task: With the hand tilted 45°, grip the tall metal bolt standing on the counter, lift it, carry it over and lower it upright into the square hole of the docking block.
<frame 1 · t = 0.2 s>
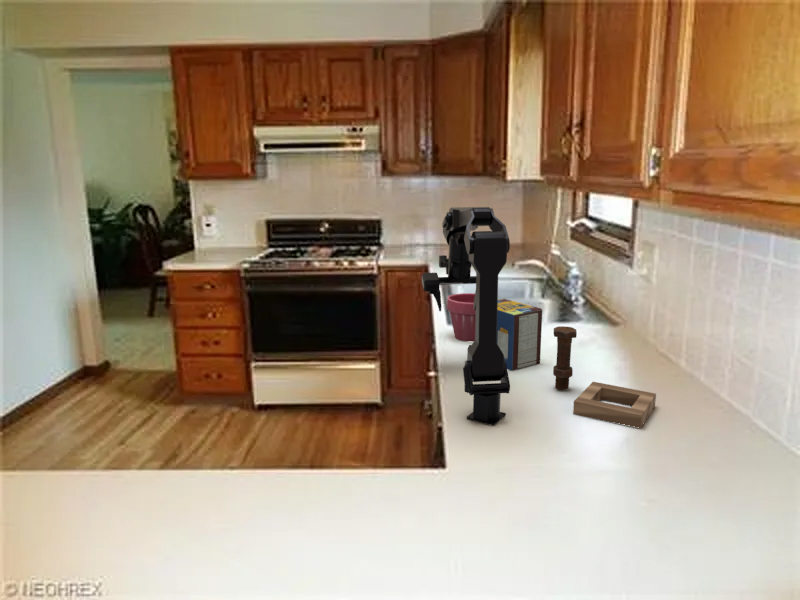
hand: (457, 310, 159), 15 cm above the countertop, tool pointing down, fingers open, 9 cm apart
plant pot: (469, 338, 188), on the countertop
docking block: (614, 410, 134), on the countertop
protein box: (506, 360, 167), on the countertop
bolt: (561, 389, 146), on the countertop
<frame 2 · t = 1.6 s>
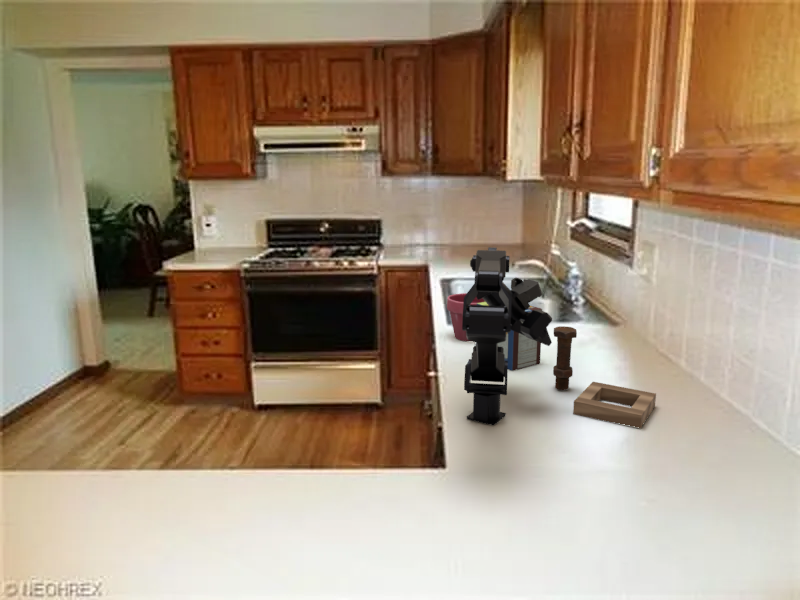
hand: (537, 338, 140), 13 cm above the countertop, tool tilted 45°, fingers open, 9 cm apart
nothing on the countertop moved.
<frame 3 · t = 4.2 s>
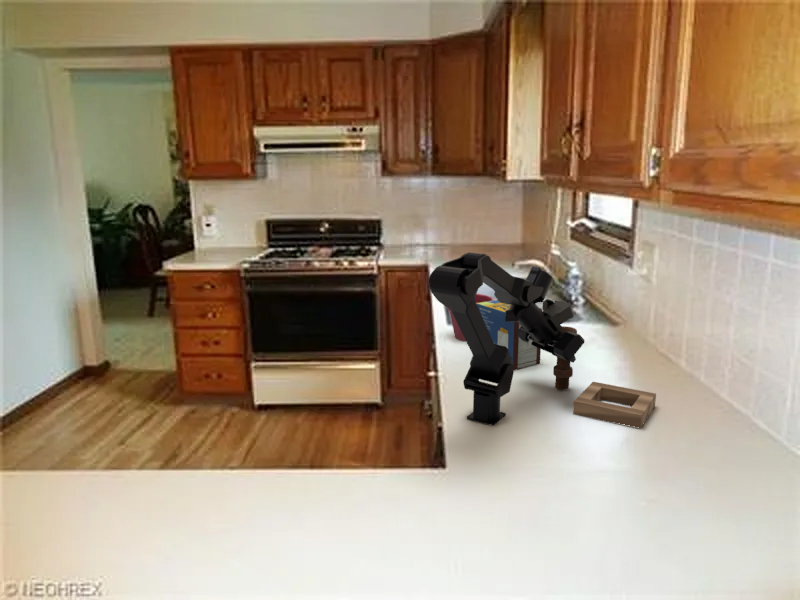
hand: (568, 358, 145), 8 cm above the countertop, tool tilted 45°, fingers closed on bolt, 4 cm apart
bolt: (561, 389, 146), on the countertop, touching gripper
everything else where it was.
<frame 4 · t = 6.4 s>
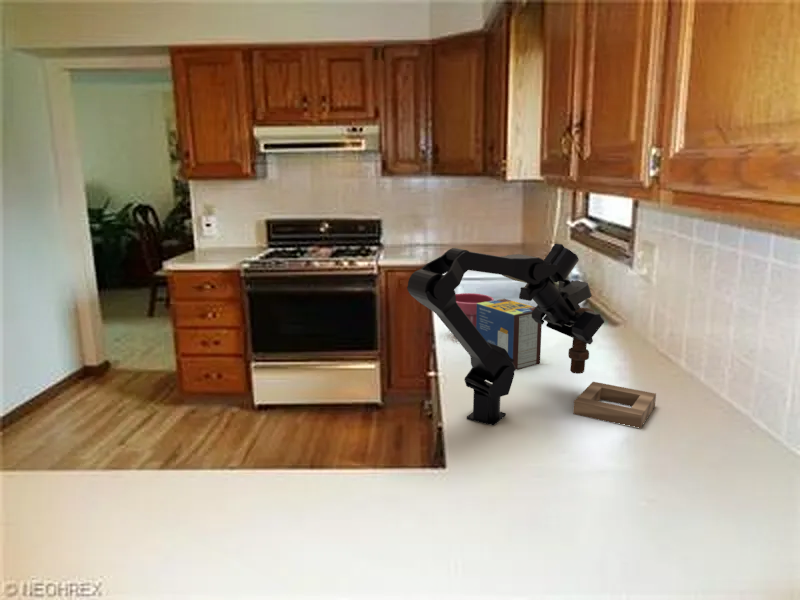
hand: (584, 340, 140), 13 cm above the countertop, tool tilted 45°, fingers closed on bolt, 4 cm apart
bolt: (576, 373, 141), point 5 cm above the countertop, touching gripper
everything else where it was.
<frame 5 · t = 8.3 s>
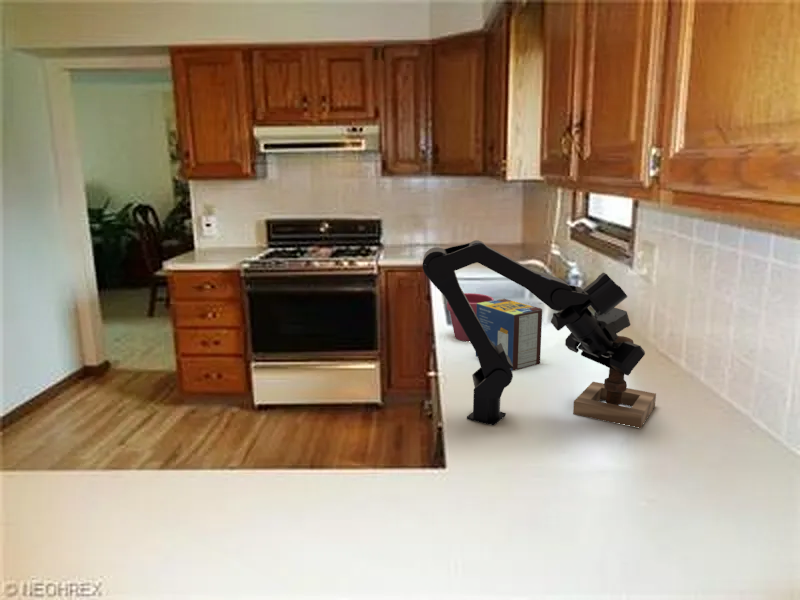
hand: (621, 370, 132), 9 cm above the countertop, tool tilted 45°, fingers closed on bolt, 4 cm apart
bolt: (613, 404, 134), point 1 cm above the countertop, touching gripper
everything else where it was.
when the fingers open (9 cm above the countertop, at t = 8.7 s): bolt stays where it is, on the countertop.
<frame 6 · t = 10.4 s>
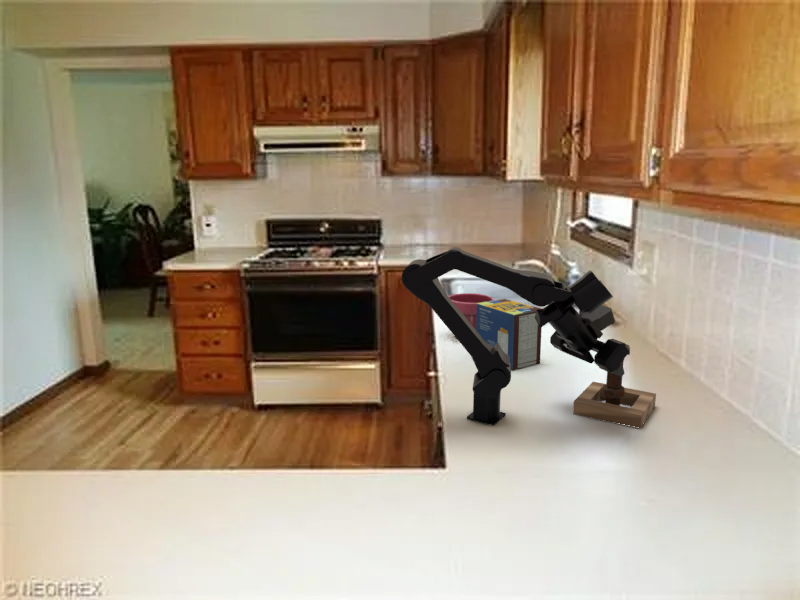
hand: (607, 368, 130), 10 cm above the countertop, tool tilted 45°, fingers open, 9 cm apart
bolt: (611, 410, 134), on the countertop
everything else where it was.
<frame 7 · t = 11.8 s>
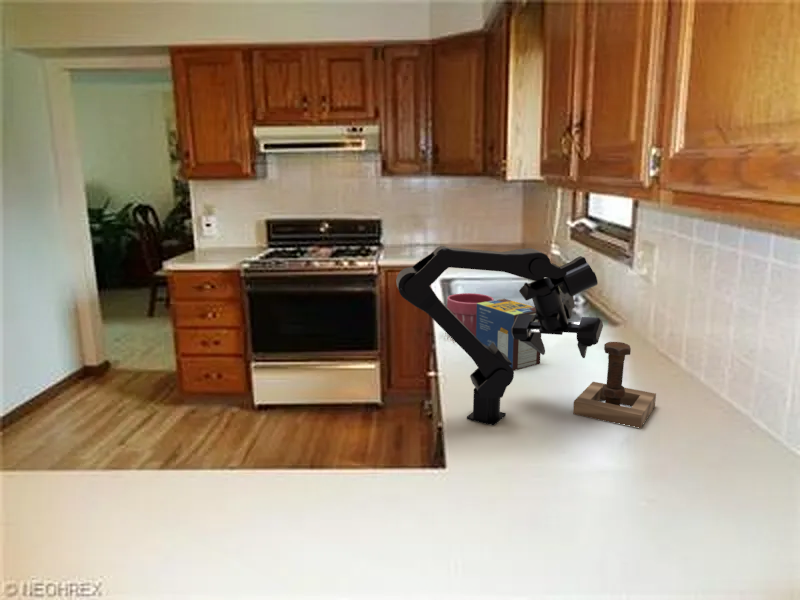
hand: (563, 355, 135), 11 cm above the countertop, tool tilted 30°, fingers open, 9 cm apart
nothing on the countertop moved.
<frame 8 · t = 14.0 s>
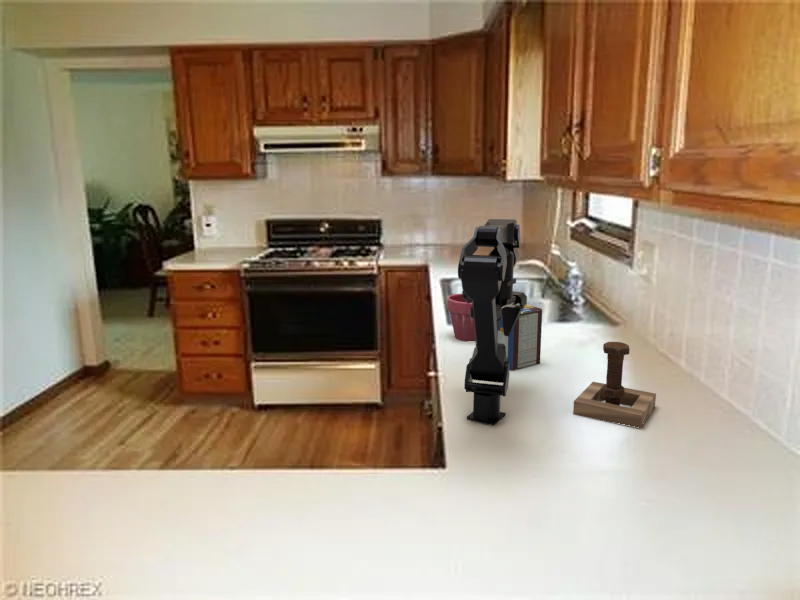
hand: (498, 340, 141), 13 cm above the countertop, tool pointing down, fingers open, 9 cm apart
nothing on the countertop moved.
at the end: bolt 0.6 cm off-centre on the docking block, point 0.0 cm above the docking block's base; bolt tilted 0°; the gripper is holding nothing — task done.
